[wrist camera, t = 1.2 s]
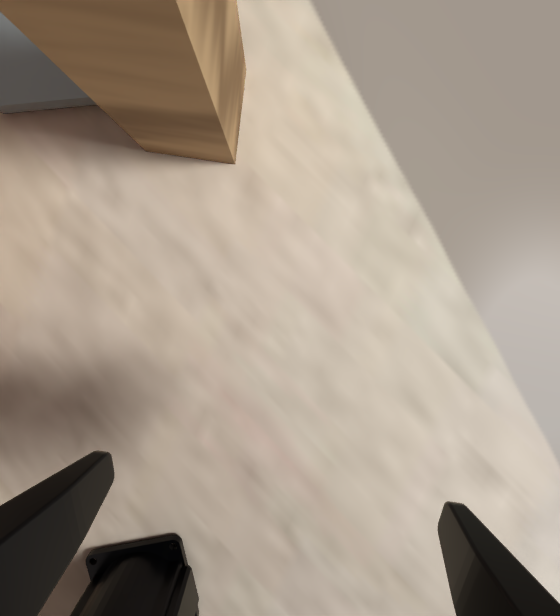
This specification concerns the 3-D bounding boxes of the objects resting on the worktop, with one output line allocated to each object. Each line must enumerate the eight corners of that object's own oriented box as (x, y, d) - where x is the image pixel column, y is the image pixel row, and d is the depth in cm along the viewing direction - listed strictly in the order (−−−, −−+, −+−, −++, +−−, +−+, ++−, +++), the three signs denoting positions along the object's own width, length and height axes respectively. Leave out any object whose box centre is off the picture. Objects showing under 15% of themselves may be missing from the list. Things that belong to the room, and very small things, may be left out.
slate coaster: (136, 100, 19) (130, 93, 18) (3, 113, 19) (-9, 106, 18) (116, -46, 18) (109, -61, 18) (-23, -33, 18) (-37, -47, 18)
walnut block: (235, 164, 20) (173, -8, 8) (145, 151, 20) (-59, -45, 8) (246, 69, 19) (197, -273, 7) (154, 55, 19) (-52, -319, 7)
